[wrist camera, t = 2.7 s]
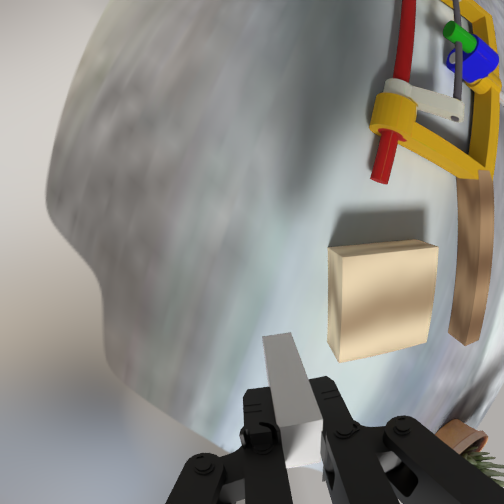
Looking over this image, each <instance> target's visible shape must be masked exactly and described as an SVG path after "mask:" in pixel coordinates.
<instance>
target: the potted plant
mask: <svg viewBox="0 0 504 504" xmlns="http://www.w3.org/2000/svg"><path fill="white" fill-rule="evenodd" d="M435 435H436V436H437V437H438V438H439V439H441V440H442V441H443V442H444V443H446V444H447V445H448V446H449V447H451V448H452V449H453V450H455V451H456V452H457V453H458V454H460V455H461V456H462V457H463V458H465V459H466V460H467V461H469V462H470V463H471V464H472V465H474V466H475V467H476V468H478V469H479V470H480V471H482V472H483V473H484V474H485V475H487V476H488V477H489V478H491V476H504V473H501V472H497V471H494V470H489V469H486V468H493V467H494V468H504V465H497V464H493V463H491V462H481V461H482V460H489V459H495V457H483V456H481V455H487V454H489V453H487V452H480V451H481V450H482V448H483V447H484V446H485V444H486V442H487V440H488V436H487V435H486V434H485V432H484V431H477V430H475V429H473V428H471V427H469V426H468V425H466V424H464V423H463V422H461V421H460V420H458V419H454V420H452V421H450V422H449V423H447V424H446V425H444V426H443V427H442V428H441V429H439V431H438V432H437V433H436V434H435ZM491 479H492V480H493V481H495V482H496V483H497V484H499V485H500V486H501V487H504V482H503V481H500V480H496V479H493V478H491Z"/></svg>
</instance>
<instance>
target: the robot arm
mask: <svg viewBox="0 0 504 504" xmlns="http://www.w3.org/2000/svg"><path fill="white" fill-rule="evenodd" d="M262 339H263V347H264V355H265V363H266V371H267V378H268V384H269V387H263V388H255V389H247V391H246V393H245V395H244V396H243V412H244V427H243V428H242V429H241V431H240V435H239V436H240V439H241V443H242V446H241V447H240V448H239V449H238V450H236V451H235V452H233V453H231V454H228V455H225V456H222V457H218V456H217V455H214V454H211V453H200V454H197V455H194V456H192V457H191V458H189V459H188V461H187V462H186V463H185V465H184V467H183V469H182V471H181V474H180V475H179V477H178V480H177V481H176V484H175V485H174V488H173V489H172V492H171V493H170V495H169V497H168V499H167V502H166V503H165V504H236V501H239V500H242V499H245V504H293V501H292V496H291V491H290V485H289V480H288V474H287V468H293V467H299V466H304V465H309V464H314V463H319V462H321V458H322V461H323V464H324V466H323V479H322V481H325V480H326V483H327V487H328V490H329V493H330V497H331V500H332V504H400V503H399V501H398V499H399V500H400V501H401V502H402V503H403V504H504V488H503V487H501V486H500V485H499V484H497V483H496V482H495V481H493V480H492V479H491V478H489V477H488V476H487V475H485V474H484V473H483V472H482V471H480V470H479V469H478V468H476V467H475V466H474V465H472V464H471V463H470V462H469V461H467V460H466V459H465V458H463V457H462V456H461V455H460V454H458V453H457V452H456V451H455V450H453V449H452V448H451V447H449V446H448V445H447V444H446V443H444V442H443V441H442V440H441V439H439V438H438V437H437V436H436V435H434V434H433V433H432V432H431V431H429V430H428V429H427V428H426V427H425V426H423V425H422V424H421V423H420V422H418V421H417V420H416V419H414V418H412V417H410V416H397V417H394V418H392V419H391V420H390V421H388V422H387V424H386V426H381V427H366V426H362V425H360V424H359V423H358V422H356V421H354V420H353V418H352V417H351V415H350V413H349V411H348V409H347V407H346V404H345V402H344V400H343V398H342V397H341V394H340V392H339V390H338V388H337V386H336V384H335V382H334V381H333V380H331V379H330V378H329V377H327V376H324V377H319V378H314V379H309V380H308V377H307V375H306V372H305V369H304V366H303V364H302V361H301V358H300V356H299V353H298V350H297V348H296V345H295V342H294V340H293V337H292V334H291V332H290V333H283V334H277V335H270V336H263V337H262ZM397 498H398V499H397Z"/></svg>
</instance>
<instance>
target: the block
mask: <svg viewBox="0 0 504 504" xmlns="http://www.w3.org/2000/svg"><path fill="white" fill-rule="evenodd" d="M437 263H438V246H435V245H432V244H429V243H426V242H423V241H420V240H417V239H411V240H401V241H390V242H379V243H369V244H358V245H347V246H337V247H328V334H327V342H328V344H329V346H330V348H331V350H332V351H333V353H334V355H335V357H336V359H337V361H338V362H339V363H342V362H347V361H352V360H357V359H362V358H367V357H371V356H376V355H380V354H384V353H388V352H392V351H396V350H400V349H404V348H408V347H411V346H415V345H419V344H422V343H425V342H427V337H428V331H429V326H430V320H431V314H432V308H433V301H434V293H435V284H436V275H437Z"/></svg>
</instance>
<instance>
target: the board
mask: <svg viewBox="0 0 504 504" xmlns="http://www.w3.org/2000/svg"><path fill="white" fill-rule="evenodd" d="M478 177H479V180H477V179H463V178H458V177H456V180H457V197H458V252H457V268H456V280H455V289H454V298H453V305H452V312H451V318H450V324H449V330H448V333H449V334H450V335H452V336H453V337H454V338H455V339H457V340H458V341H459V342H461V343H462V344H463V345H464V346H466V345H469V344H471V343H473V342H475V341H477V340H479V337H480V333H481V328H482V324H483V319H484V314H485V309H486V303H487V297H488V291H489V283H490V276H491V266H492V255H493V239H494V191H493V181H492V178H491V174H490V171H486V170H478Z"/></svg>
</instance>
